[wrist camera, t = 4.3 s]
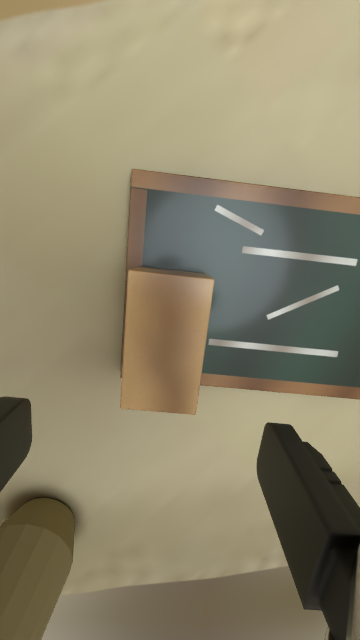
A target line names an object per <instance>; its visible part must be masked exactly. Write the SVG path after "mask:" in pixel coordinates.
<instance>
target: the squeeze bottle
mask: <svg viewBox="0 0 360 640" xmlns="http://www.w3.org/2000/svg"><path fill="white" fill-rule="evenodd" d="M74 529H75V521H74V517H73V513H72V512H71V511H70V510H69V508H68V507H67V506H66V505H64V504H62V503H61V502H59V501H57V500H53V499H49V498H37V499H33V500H31V501H28V502H26V503H25V504H23V505H22V506H21V507H20V508H19V509H18V510H17V511H16V512H15V513H14V514H13V515H12V516H10V517H9V518H8V519H7V520H6V521H5V522H4V523H3V524H2V525H1V526H0V640H41V639H42V636H43V634H44V631H45V629H46V627H47V624H48V622H49V620H50V617H51V615H52V612H53V610H54V608H55V605H56V603H57V601H58V598H59V596H60V593H61V591H62V589H63V586H64V584H65V582H66V579H67V577H68V574H69V572H70V568H71V565H72V562H73V547H74Z"/></svg>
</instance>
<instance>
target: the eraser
mask: <svg viewBox="0 0 360 640" xmlns="http://www.w3.org/2000/svg"><path fill="white" fill-rule="evenodd" d="M214 281H215V280H214V279H213V278H212V277H210V276H209V275H207V274H205V273H202V272H193V271H184V270H175V269H166V268H156V267H147V266H139V267H136V268H133V269H130V270H128V281H127V298H126V316H125V334H124V351H123V369H122V387H121V404H120V408H122V409H134V410H146V411H158V412H169V413H181V414H193V415H195V414H196V409H197V402H198V395H199V388H200V380H201V373H202V366H203V359H204V352H205V345H206V338H207V331H208V324H209V317H210V310H211V303H212V296H213V289H214Z"/></svg>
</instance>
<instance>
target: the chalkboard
mask: <svg viewBox="0 0 360 640" xmlns="http://www.w3.org/2000/svg"><path fill="white" fill-rule="evenodd" d="M139 266H147V267H156V268H166V269H175V270H184V271H193V272H202V273H205V274H207V275H209V276H210V277H212V278H213V279H214V280H215V281H214V289H213V296H212V303H211V310H210V317H209V324H208V331H207V338H206V345H205V352H204V359H203V366H202V373H201V380H200V385H205V386H216V387H227V388H238V389H249V390H261V391H272V392H283V393H294V394H305V395H317V396H328V397H339V398H350V399H360V197H352V196H344V195H336V194H328V193H320V192H312V191H304V190H296V189H288V188H280V187H273V186H265V185H257V184H249V183H241V182H233V181H225V180H217V179H209V178H201V177H193V176H185V175H177V174H169V173H161V172H153V171H145V170H137V169H132V176H131V193H130V211H129V229H128V247H127V265H126V284H125V302H124V320H123V338H122V356H121V375H120V377H121V378H122V369H123V351H124V334H125V316H126V298H127V281H128V270H130V269H133V268H136V267H139Z"/></svg>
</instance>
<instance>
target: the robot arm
mask: <svg viewBox="0 0 360 640" xmlns="http://www.w3.org/2000/svg"><path fill="white" fill-rule="evenodd" d="M31 442H32V424H31V403H30V401H29V399H25V398H15V397H1V398H0V492H1V490H2V489H3V488H4V486H5V485H6V484H7V482H8V481H9V480H10V478H11V477H12V476H13V474H14V473H15V472H16V470H17V469H18V468H19V466H20V465H21V464H22V462H23V461H24V459H25V458H26V456H27V454H28V452H29V450H30V447H31ZM257 475H258V480H259V483H260V486H261V489H262V491H263V494H264V497H265V500H266V503H267V506H268V508H269V511H270V514H271V517H272V520H273V523H274V525H275V528H276V531H277V534H278V537H279V540H280V543H281V545H282V548H283V551H284V554H285V557H286V560H287V562H288V565H289V568H290V571H291V574H292V577H293V579H294V582H295V585H296V588H297V590H298V594H299V596H300V599H301V602H302V605H303V608H304V609H308V610H322V612H323V614H324V617H325V619H326V622H327V624H328V627H327V630H326V634H325V640H360V507H359V506H358V505H357V503H356V502H355V500H354V499H353V498H352V496H351V495H350V493H349V492H348V491H347V489H346V488H345V486H344V485H342V484H341V481H340V479H339V478H338V477H337V475H336V474H335V472H333V471H332V468H331V467H330V465H329V464H328V462H327V461H326V460H325V458H324V457H323V455H322V454H321V453H319V452H318V451H317V450H316V449H315V448H314V447H312V446H311V445H310V444H309V443H308V442H302V440H301V439H300V437H299V436H298V434H297V433H296V431H295V430H294V428H293V427H292V426H291V425H289V424H278V423H267V424H266V425H265V427H264V432H263V436H262V440H261V445H260V449H259V454H258V458H257Z"/></svg>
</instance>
